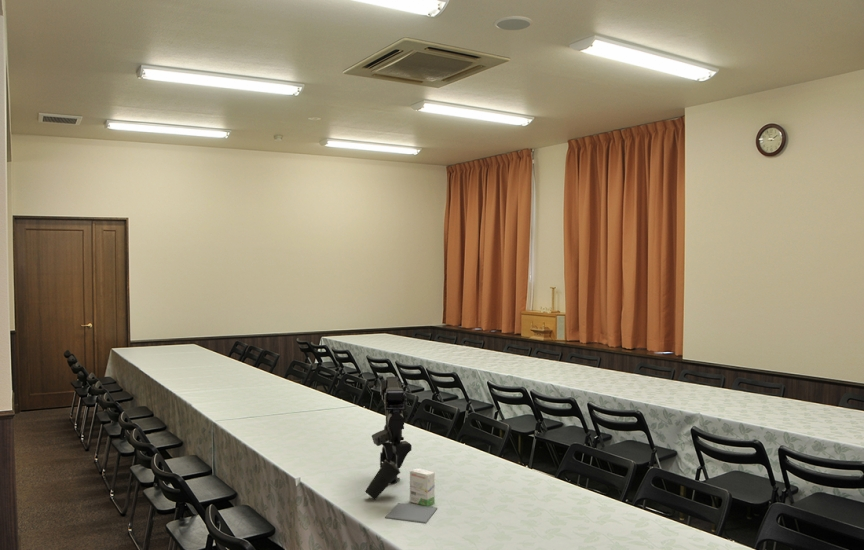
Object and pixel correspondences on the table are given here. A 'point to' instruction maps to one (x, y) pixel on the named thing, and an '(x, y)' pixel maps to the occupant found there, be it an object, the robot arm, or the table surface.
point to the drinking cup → (382, 478)
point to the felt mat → (411, 513)
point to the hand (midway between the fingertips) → (393, 464)
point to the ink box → (422, 487)
